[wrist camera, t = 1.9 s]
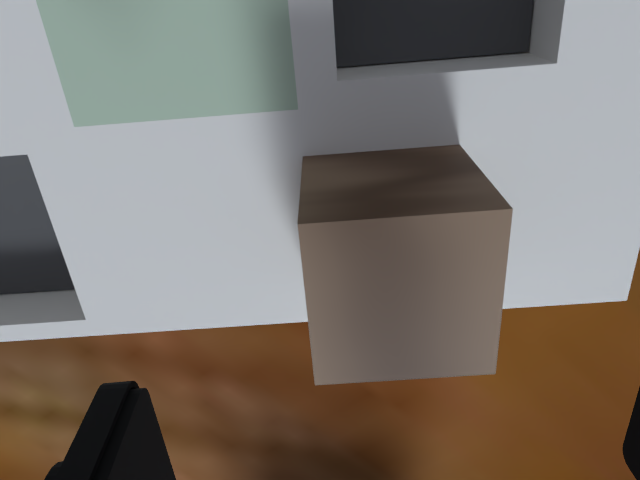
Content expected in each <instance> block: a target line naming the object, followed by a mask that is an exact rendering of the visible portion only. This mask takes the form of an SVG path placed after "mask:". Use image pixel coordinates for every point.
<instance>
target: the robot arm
mask: <svg viewBox="0 0 640 480" xmlns="http://www.w3.org/2000/svg"><path fill="white" fill-rule="evenodd" d="M623 455H624V459H625V461H626V464H627V465H628V467H629V469H630V470H631V472H632V473H633V475H634V476H635V478H636V479H637V480H640V387H639V391H638V394H637V398H636V401H635V405H634V408H633V412H632V415H631V419H630V422H629V426H628V429H627V433H626V436H625V440H624V443H623ZM45 480H176V478H175V475H174V472H173V469H172V465H171V462H170V459H169V456H168V453H167V449H166V446H165V443H164V440H163V437H162V433H161V430H160V427H159V424H158V421H157V417H156V414H155V411H154V408H153V405H152V402H151V398H150V395H149V392H148V390H147V389H146V388H139V386H138V384H137V383H136V382H135V381H127V382H115V383H103V384H102V385H101V386H100V387H99V389H98V390H97V392H96V394H95V396H94V399H93V401H92V403H91V405H90V407H89V409H88V411H87V413H86V415H85V417H84V419H83V421H82V423H81V426H80V428H79V430H78V432H77V434H76V436H75V438H74V440H73V442H72V444H71V446H70V448H69V450H68V452H67V455H66V457H65V459H64V461H62V462H58V463H56V464H55V465H54V466H53V467H52V468H51V469H50V471H49V473H48V474H47V476H46V478H45Z"/></svg>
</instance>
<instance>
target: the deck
mask: <svg viewBox="0 0 640 480" xmlns="http://www.w3.org/2000/svg"><path fill="white" fill-rule="evenodd" d="M505 53H506V54H505ZM493 54H494V55H493ZM468 56H469V57H468ZM456 57H457V58H456ZM431 59H432V60H431ZM419 60H420V61H419ZM394 62H395V63H394ZM382 63H383V64H382ZM357 65H358V66H357ZM345 66H346V67H345ZM459 144H460V145H461V147H462V148H463V149H464V150H465V152H466V153H467V154H468V155H469V156H470V158H471V159H472V160H473V161H474V162H475V164H476V165H477V166H478V167H479V168H480V170H481V171H482V172H483V173H484V174H485V176H486V177H487V178H488V179H489V181H490V182H491V183H492V184H493V185H494V187H495V188H496V189H497V190H498V191H499V193H500V194H501V195H502V196H503V197H504V199H505V200H506V201H507V202H508V203H509V205H510V206H511V207H512V208H513V213H512V222H511V232H510V241H509V251H508V260H507V270H506V279H505V288H504V298H503V307H502V309H506V308H521V307H536V306H552V305H567V304H582V303H597V302H612V301H627V298H628V294H629V289H630V285H631V281H632V277H633V273H634V269H635V264H636V260H637V256H638V252H639V248H640V0H0V342H5V341H20V340H35V339H50V338H66V337H81V336H96V335H111V334H126V333H142V332H157V331H172V330H187V329H202V328H217V327H233V326H248V325H263V324H278V323H293V322H308V317H307V308H306V299H305V289H304V280H303V271H302V262H301V252H300V243H299V234H298V225H297V224H298V211H299V198H300V185H301V172H302V159H303V156H314V155H327V154H340V153H353V152H366V151H380V150H393V149H406V148H419V147H432V146H446V145H459Z"/></svg>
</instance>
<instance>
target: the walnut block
mask: <svg viewBox="0 0 640 480" xmlns="http://www.w3.org/2000/svg"><path fill="white" fill-rule="evenodd" d="M512 213H513V208H512V207H511V206H510V205H509V203H508V202H507V201H506V200H505V199H504V197H503V196H502V195H501V194H500V193H499V191H498V190H497V189H496V188H495V187H494V185H493V184H492V183H491V182H490V181H489V179H488V178H487V177H486V176H485V174H484V173H483V172H482V171H481V170H480V168H479V167H478V166H477V165H476V164H475V162H474V161H473V160H472V159H471V158H470V156H469V155H468V154H467V153H466V152H465V150H464V149H463V148H462V147H461V145H460V144H459V145H446V146H432V147H419V148H406V149H393V150H380V151H366V152H353V153H340V154H327V155H314V156H303V159H302V172H301V185H300V198H299V211H298V224H297V225H298V234H299V243H300V252H301V262H302V271H303V280H304V289H305V299H306V308H307V317H308V326H309V336H310V345H311V354H312V363H313V373H314V382H315V385H326V384H342V383H358V382H374V381H390V380H406V379H423V378H439V377H455V376H471V375H487V374H495V373H496V364H497V354H498V345H499V336H500V326H501V317H502V307H503V298H504V288H505V279H506V270H507V260H508V251H509V241H510V232H511V222H512Z"/></svg>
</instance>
